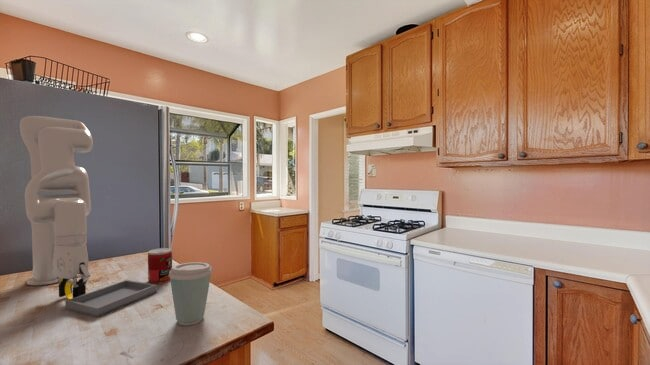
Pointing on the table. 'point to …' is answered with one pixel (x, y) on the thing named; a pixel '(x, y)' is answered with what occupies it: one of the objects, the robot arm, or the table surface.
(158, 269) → the canned food
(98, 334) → the table surface
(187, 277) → the disposable coffee cup
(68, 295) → the watch
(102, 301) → the tray
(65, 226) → the robot arm
